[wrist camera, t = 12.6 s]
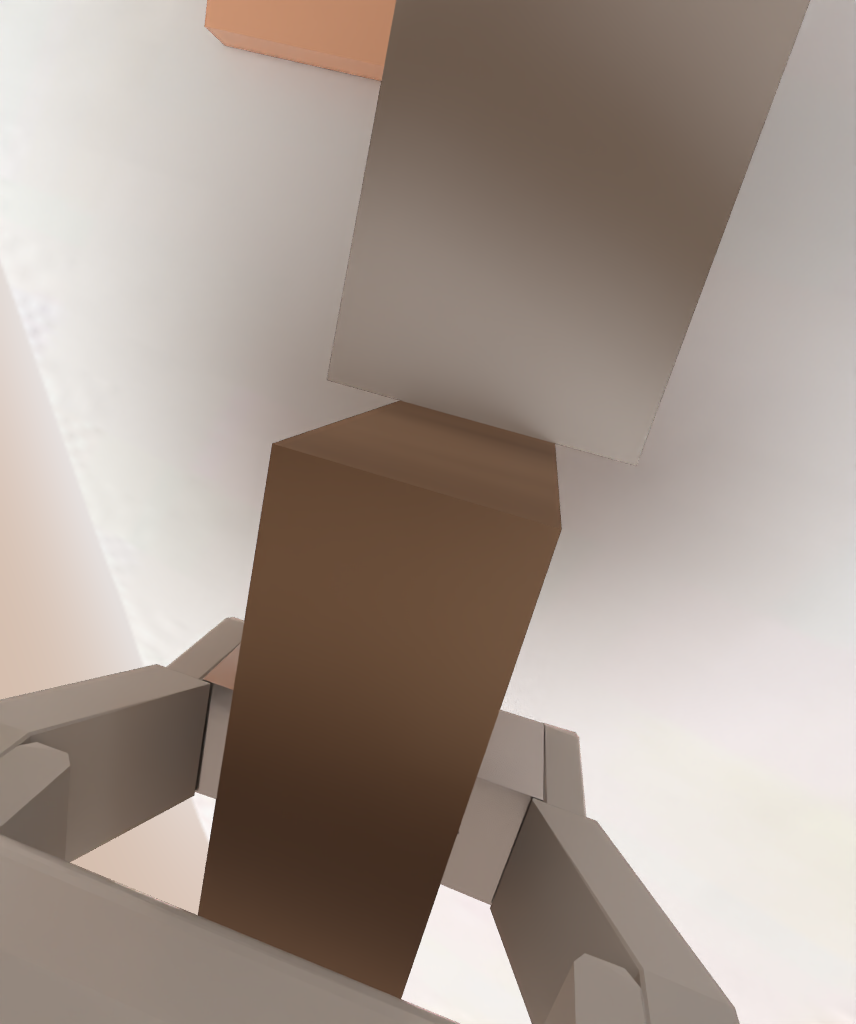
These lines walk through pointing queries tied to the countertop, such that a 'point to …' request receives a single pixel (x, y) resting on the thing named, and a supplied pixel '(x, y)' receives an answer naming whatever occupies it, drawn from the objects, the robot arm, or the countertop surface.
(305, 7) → the tile
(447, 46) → the turner
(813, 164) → the countertop surface
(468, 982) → the countertop surface
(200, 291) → the countertop surface
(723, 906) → the countertop surface
